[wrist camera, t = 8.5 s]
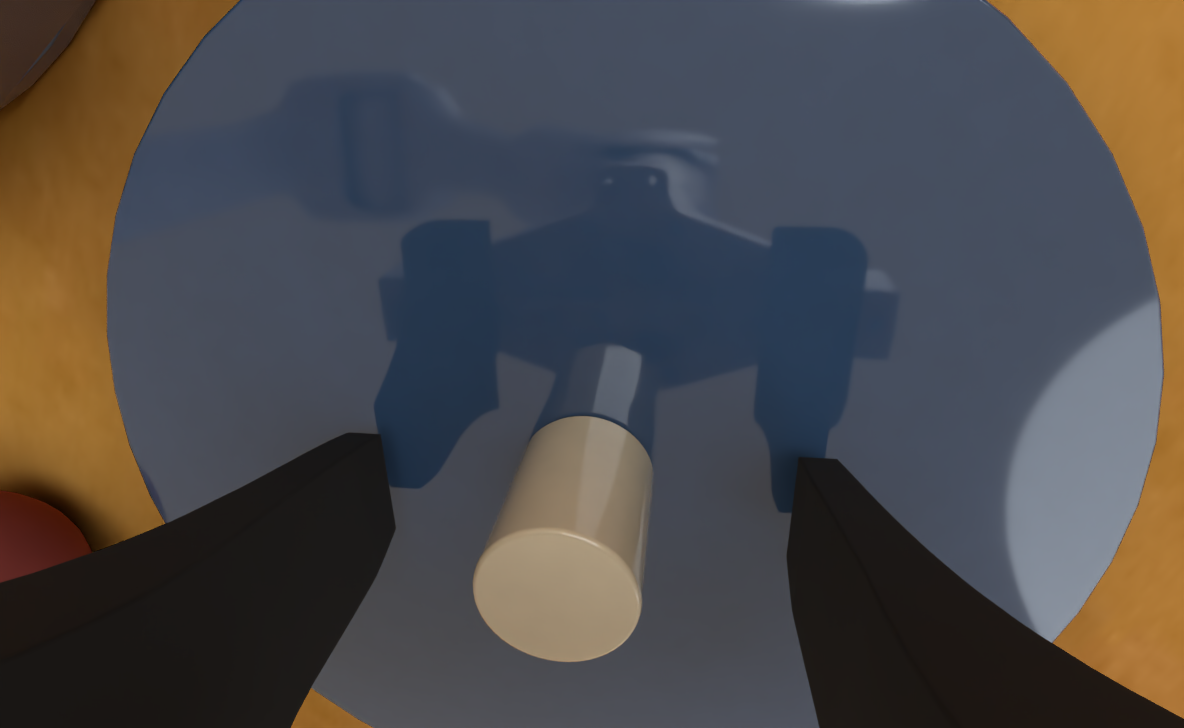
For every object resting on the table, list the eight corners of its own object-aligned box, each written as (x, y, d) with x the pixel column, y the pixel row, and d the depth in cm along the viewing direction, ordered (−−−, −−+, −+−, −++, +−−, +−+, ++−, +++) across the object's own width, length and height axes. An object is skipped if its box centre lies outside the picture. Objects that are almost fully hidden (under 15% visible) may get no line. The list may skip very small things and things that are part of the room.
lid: (259, 719, 18) (144, 898, 15) (8, -93, 11) (-370, -168, 7) (991, 801, 16) (1084, 1041, 12) (1316, -158, 9) (1828, -325, 5)
